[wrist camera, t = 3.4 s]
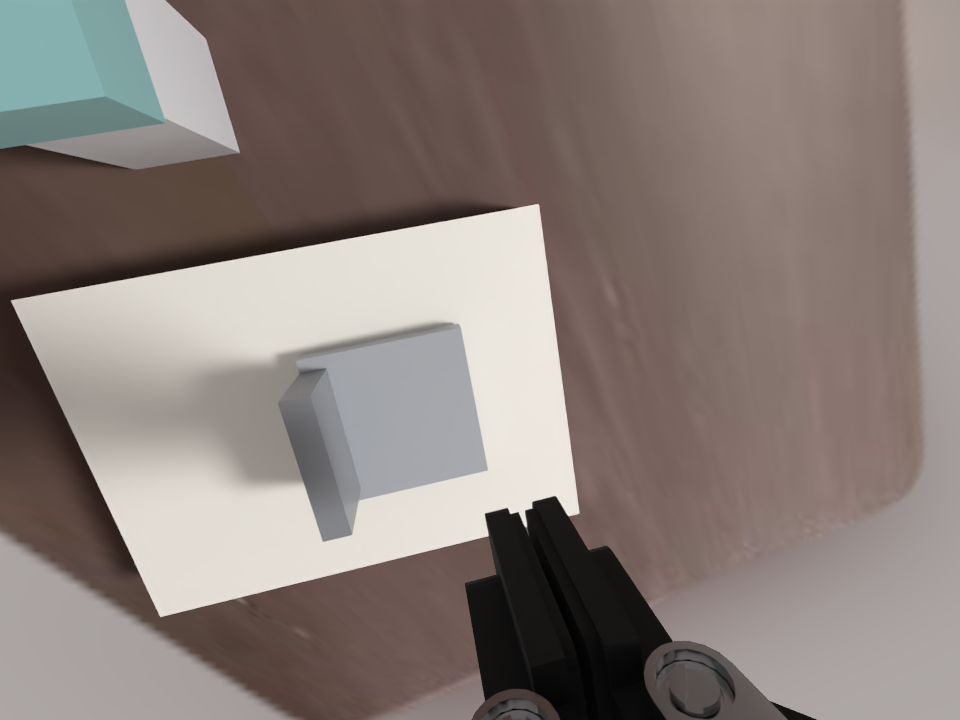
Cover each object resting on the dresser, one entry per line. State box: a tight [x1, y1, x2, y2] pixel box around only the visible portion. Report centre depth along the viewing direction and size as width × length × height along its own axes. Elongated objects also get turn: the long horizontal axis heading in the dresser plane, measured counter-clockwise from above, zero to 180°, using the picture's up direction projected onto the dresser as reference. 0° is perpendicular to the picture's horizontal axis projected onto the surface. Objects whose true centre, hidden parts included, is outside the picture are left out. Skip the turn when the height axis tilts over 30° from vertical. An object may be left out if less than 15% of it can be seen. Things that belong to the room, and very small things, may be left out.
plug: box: [0, 0, 240, 170], centre depth 13 cm, size 5×5×10 cm
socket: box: [11, 204, 579, 617], centre depth 20 cm, size 19×14×3 cm
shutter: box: [278, 324, 488, 542], centre depth 17 cm, size 6×6×4 cm
